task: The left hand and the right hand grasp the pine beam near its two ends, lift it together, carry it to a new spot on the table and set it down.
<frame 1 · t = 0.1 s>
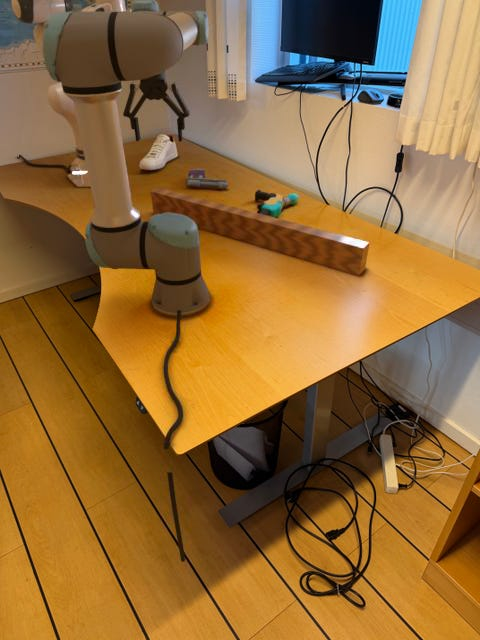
left hand: (118, 60, 155), 48 cm above the table, tool pointing down, fingers open, 8 cm apart
right hand: (159, 140, 150), 28 cm above the table, tool pointing down, fingers open, 13 cm apart
sneaker: (158, 164, 218), on the table
toy gun 2: (267, 210, 173), on the table
toy gun: (208, 184, 196), on the table
beam: (247, 239, 155), on the table
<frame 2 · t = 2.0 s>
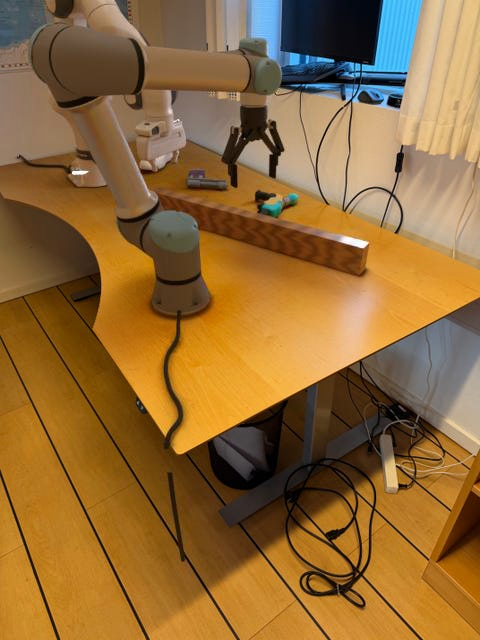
left hand: (165, 167, 160), 18 cm above the table, tool pointing down, fingers open, 8 cm apart
right hand: (253, 181, 140), 20 cm above the table, tool pointing down, fingers open, 13 cm apart
nothing on the table moved.
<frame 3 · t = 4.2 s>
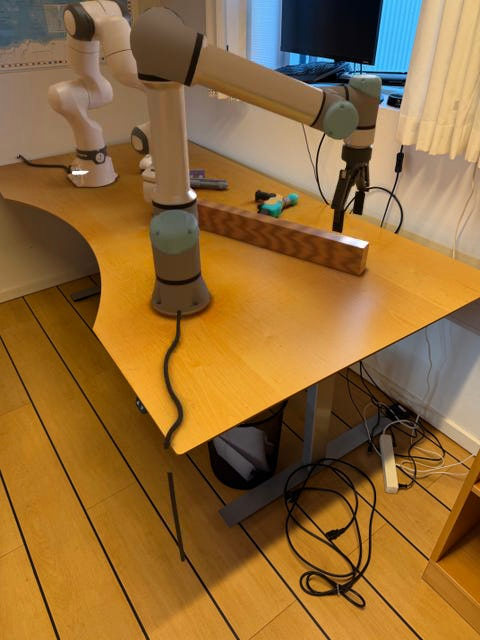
left hand: (169, 207, 169), 3 cm above the table, tool pointing down, fingers closed on beam, 4 cm apart
right hand: (347, 222, 132), 14 cm above the table, tool pointing down, fingers open, 13 cm apart
beam: (247, 238, 155), on the table, touching left hand
everything else where it was.
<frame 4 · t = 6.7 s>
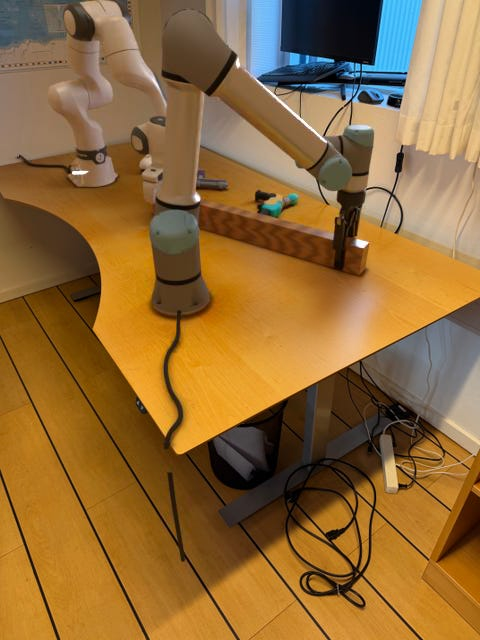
left hand: (169, 207, 169), 3 cm above the table, tool pointing down, fingers closed on beam, 4 cm apart
right hand: (342, 264, 140), 1 cm above the table, tool pointing down, fingers closed on beam, 4 cm apart
beam: (247, 238, 155), on the table, touching right hand, left hand
everything else where it was.
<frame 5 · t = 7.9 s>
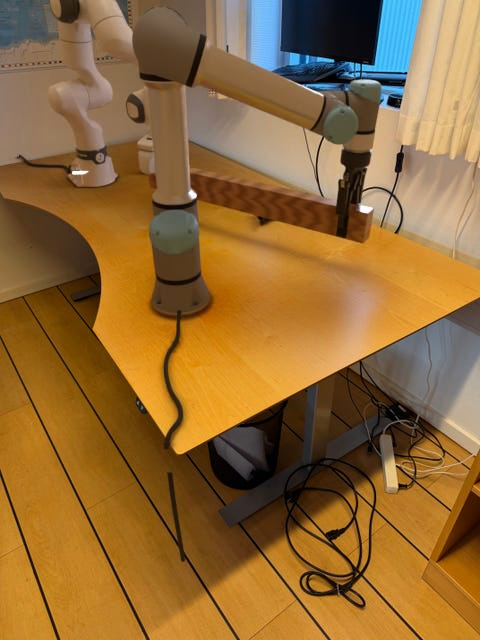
left hand: (166, 179, 163), 13 cm above the table, tool pointing down, fingers closed on beam, 4 cm apart
right hand: (344, 232, 134), 11 cm above the table, tool pointing down, fingers closed on beam, 4 cm apart
beam: (247, 209, 149), point 10 cm above the table, touching right hand, left hand
everything else where it was.
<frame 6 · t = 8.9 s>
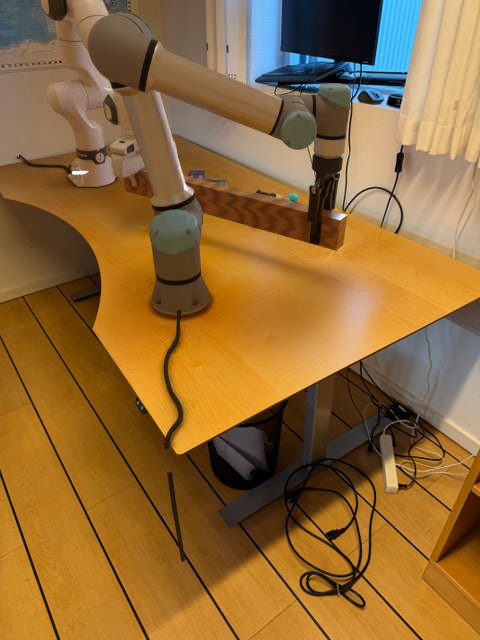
left hand: (141, 183, 160), 14 cm above the table, tool pointing down, fingers closed on beam, 4 cm apart
right hand: (318, 239, 131), 11 cm above the table, tool pointing down, fingers closed on beam, 4 cm apart
beam: (221, 214, 146), point 10 cm above the table, touching right hand, left hand
everything else where it was.
when the right hand's fingers open (2 cm above the table, at t = 11.3 s): beam drops 1 cm, on the table.
when the left hand's fingers open (5 cm above the table, at t = 11.5 s): beam stays where it is, on the table.
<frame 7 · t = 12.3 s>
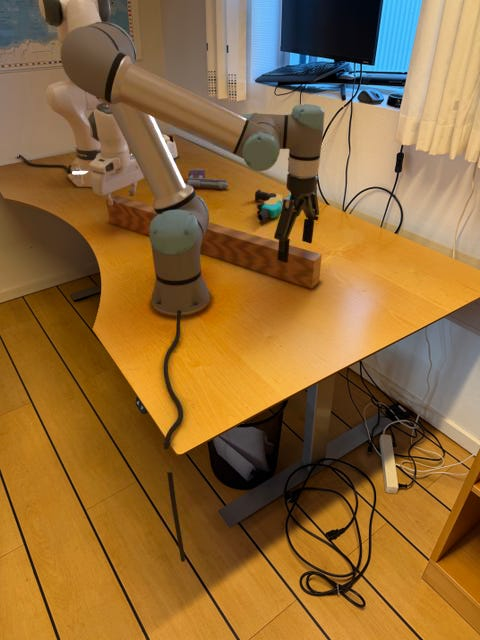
left hand: (122, 199, 160), 9 cm above the table, tool pointing down, fingers open, 8 cm apart
right hand: (295, 251, 129), 9 cm above the table, tool pointing down, fingers open, 13 cm apart
beam: (202, 249, 150), on the table
everything else where it was.
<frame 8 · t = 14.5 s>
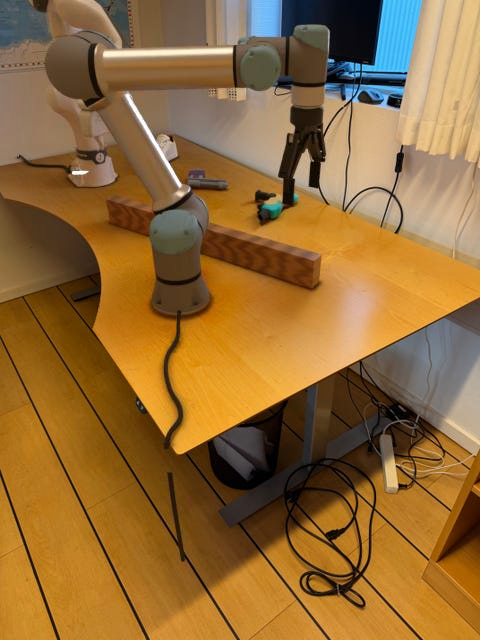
left hand: (114, 145, 149), 27 cm above the table, tool pointing down, fingers open, 8 cm apart
right hand: (301, 195, 120), 25 cm above the table, tool pointing down, fingers open, 13 cm apart
nothing on the table moved.
at the end: beam inside the target area (0.1 cm from its centre), on the table; beam tilted 0°; beam never tilted more than 1° during the clip; both hands held the beam at the same time; the left hand is holding nothing; the right hand is holding nothing; beam at rest at the end (0.0 cm/s) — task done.
